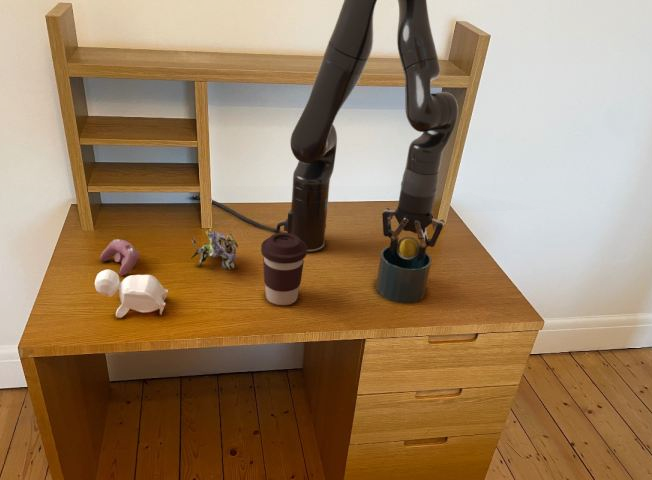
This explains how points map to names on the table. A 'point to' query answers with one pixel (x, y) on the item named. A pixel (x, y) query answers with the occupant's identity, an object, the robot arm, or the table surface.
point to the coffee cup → (283, 267)
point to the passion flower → (218, 249)
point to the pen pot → (402, 277)
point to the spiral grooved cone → (408, 248)
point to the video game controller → (121, 255)
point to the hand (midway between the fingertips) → (406, 256)
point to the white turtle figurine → (132, 291)
